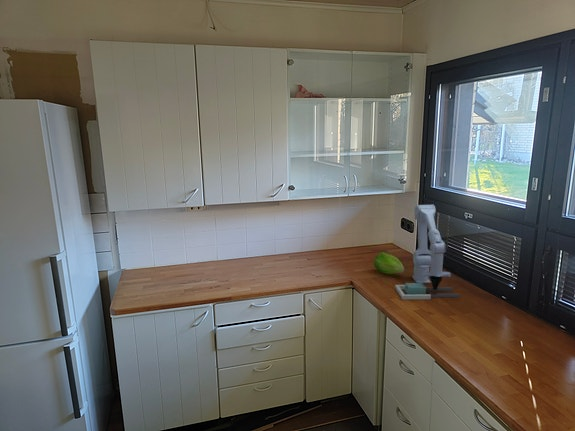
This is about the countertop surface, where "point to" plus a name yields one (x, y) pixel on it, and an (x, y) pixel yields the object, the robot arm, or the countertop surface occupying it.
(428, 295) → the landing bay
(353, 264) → the countertop surface
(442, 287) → the parallel guide rails
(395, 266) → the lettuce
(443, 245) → the robot arm
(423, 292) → the teal block
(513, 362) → the countertop surface
